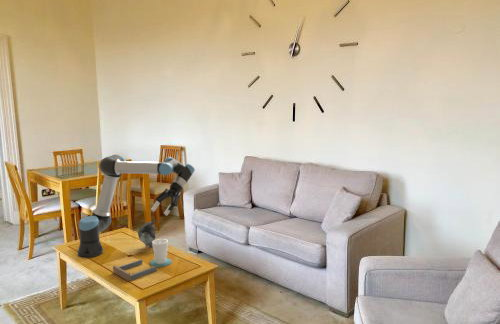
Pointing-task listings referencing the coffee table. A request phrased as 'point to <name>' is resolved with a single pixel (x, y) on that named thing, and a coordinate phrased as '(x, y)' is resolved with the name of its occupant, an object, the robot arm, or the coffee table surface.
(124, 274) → the cup lane
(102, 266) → the coffee table surface
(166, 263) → the teal mat
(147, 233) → the grey rock
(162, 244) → the foam cup
